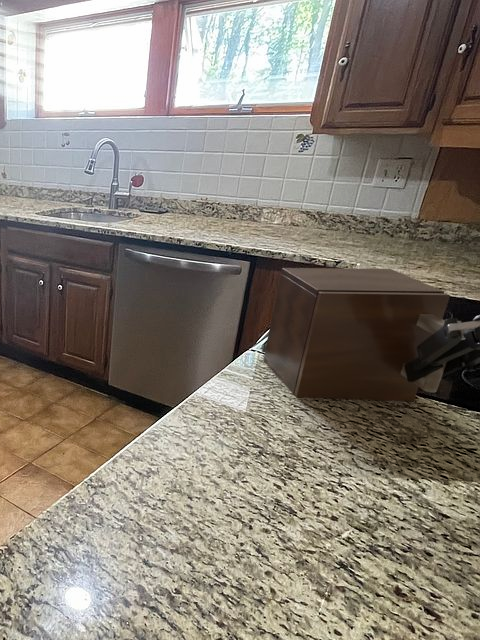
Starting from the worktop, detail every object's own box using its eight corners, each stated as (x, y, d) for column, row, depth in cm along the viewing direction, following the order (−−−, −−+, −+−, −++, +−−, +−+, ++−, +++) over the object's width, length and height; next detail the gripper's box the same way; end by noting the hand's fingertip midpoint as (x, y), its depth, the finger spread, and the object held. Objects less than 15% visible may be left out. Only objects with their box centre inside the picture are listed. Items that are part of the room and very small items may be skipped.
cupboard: (408, 398, 85) (444, 291, 78) (293, 394, 87) (317, 290, 80) (362, 363, 98) (390, 268, 91) (262, 360, 100) (281, 267, 93)
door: (440, 421, 78) (482, 308, 71) (313, 416, 80) (342, 306, 73) (410, 398, 85) (446, 293, 78) (293, 394, 87) (318, 291, 80)
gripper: (493, 331, 57) (370, 395, 79) (645, 334, 56) (477, 398, 78) (475, 272, 60) (361, 349, 82) (620, 273, 59) (464, 352, 80)
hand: (417, 373), depth 80 cm, fingers closed on door, 2 cm apart
